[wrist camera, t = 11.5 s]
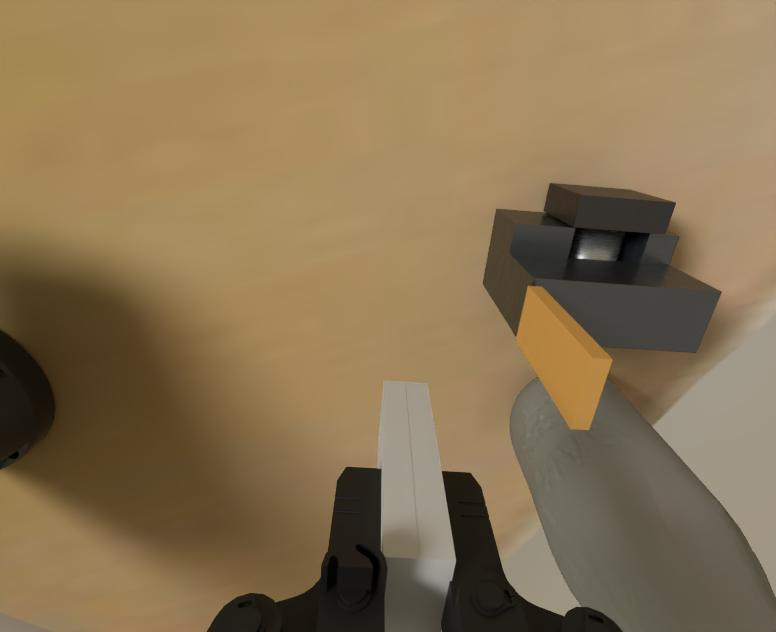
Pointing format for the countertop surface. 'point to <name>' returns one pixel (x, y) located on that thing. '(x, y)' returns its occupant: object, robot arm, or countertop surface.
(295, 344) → the countertop surface
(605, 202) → the lynch pin
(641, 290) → the block
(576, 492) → the grey vase
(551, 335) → the plate
